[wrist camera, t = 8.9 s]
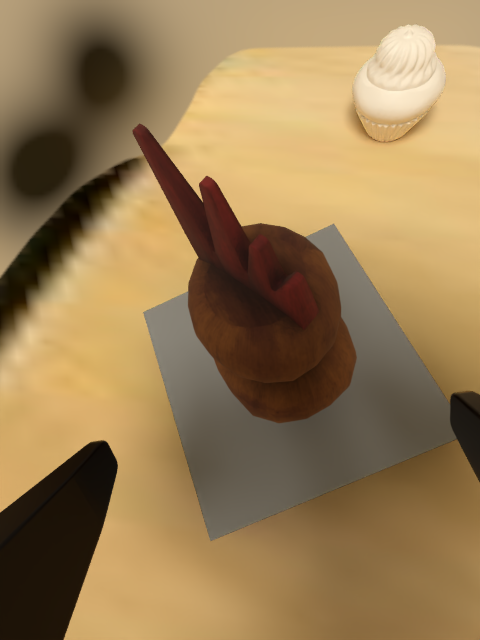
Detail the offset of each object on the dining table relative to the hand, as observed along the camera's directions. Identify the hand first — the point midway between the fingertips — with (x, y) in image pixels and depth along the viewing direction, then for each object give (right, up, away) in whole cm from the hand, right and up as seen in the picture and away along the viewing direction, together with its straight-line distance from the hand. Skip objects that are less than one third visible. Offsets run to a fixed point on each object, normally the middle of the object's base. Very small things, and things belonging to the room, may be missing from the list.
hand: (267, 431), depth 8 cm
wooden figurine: (+2, 0, +11) cm, 11 cm away
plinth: (+2, -1, +13) cm, 14 cm away
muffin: (+11, +19, +18) cm, 29 cm away
